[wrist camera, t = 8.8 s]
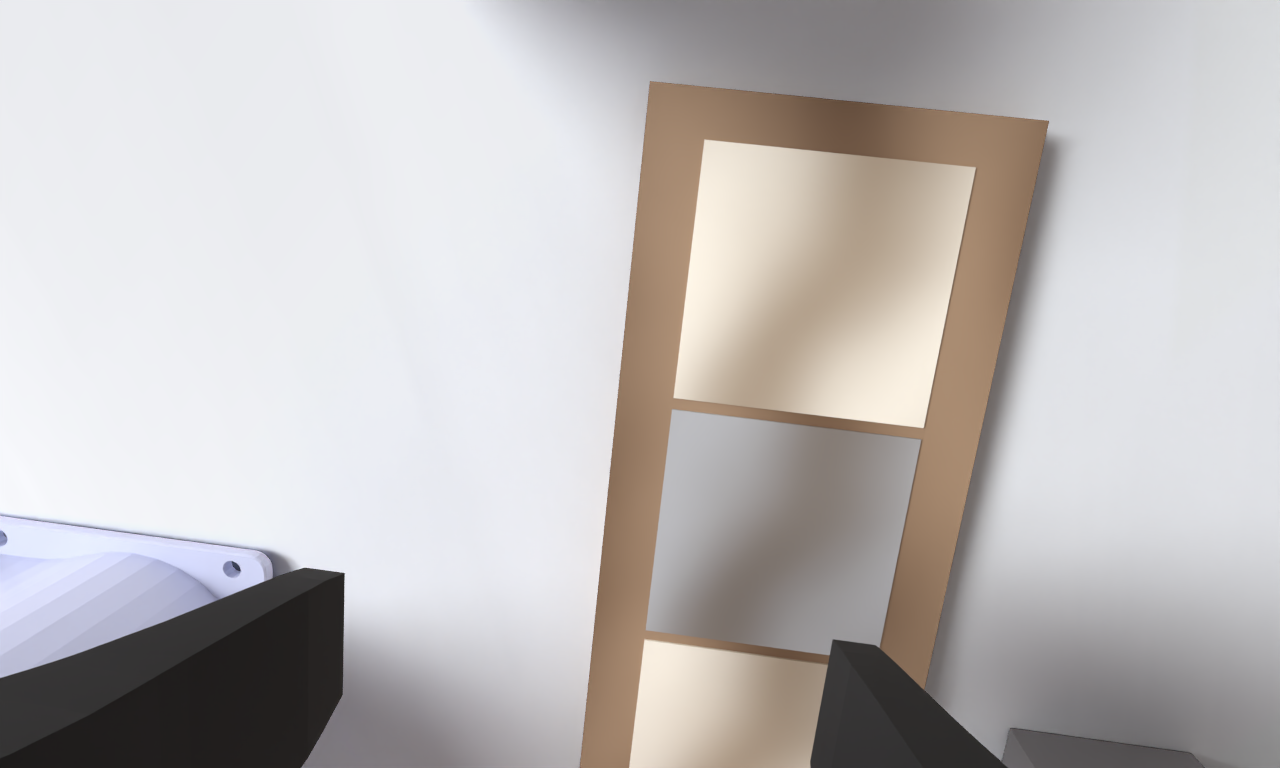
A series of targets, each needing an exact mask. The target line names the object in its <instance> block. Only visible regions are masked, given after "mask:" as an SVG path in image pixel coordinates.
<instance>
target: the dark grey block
mask: <svg viewBox="0 0 1280 768" xmlns="http://www.w3.org/2000/svg"><path fill="white" fill-rule="evenodd" d="M1002 763H1003V764H1004V765H1006V766H1007V767H1008V768H1205V767H1204V766H1203V765H1202V764H1201V763H1200V762H1199V761H1198V760H1197V759H1196V758H1195V757H1194V756H1193V755H1192V754H1191V753H1185V752H1178V751H1171V750H1164V749H1157V748H1149V747H1142V746H1135V745H1128V744H1121V743H1114V742H1106V741H1099V740H1092V739H1085V738H1078V737H1071V736H1063V735H1056V734H1049V733H1042V732H1035V731H1028V730H1020V729H1013V728H1010V731H1009V735H1008V739H1007V743H1006V746H1005V750H1004V754H1003V758H1002Z"/></svg>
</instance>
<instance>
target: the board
mask: <svg viewBox="0 0 1280 768" xmlns="http://www.w3.org/2000/svg"><path fill="white" fill-rule="evenodd" d="M1048 124H1049V121H1044V120H1034V119H1024V118H1014V117H1004V116H994V115H984V114H974V113H964V112H953V111H943V110H933V109H923V108H913V107H903V106H893V105H883V104H873V103H863V102H853V101H843V100H833V99H823V98H813V97H803V96H792V95H782V94H772V93H762V92H752V91H742V90H732V89H722V88H712V87H702V86H692V85H682V84H672V83H662V82H652V81H650V86H649V96H648V106H647V115H646V125H645V135H644V145H643V155H642V164H641V174H640V184H639V194H638V204H637V213H636V223H635V233H634V243H633V252H632V262H631V272H630V282H629V292H628V301H627V311H626V321H625V331H624V340H623V350H622V360H621V370H620V380H619V389H618V399H617V409H616V419H615V429H614V438H613V448H612V458H611V468H610V477H609V487H608V497H607V507H606V517H605V526H604V536H603V546H602V556H601V565H600V575H599V585H598V595H597V605H596V614H595V624H594V634H593V644H592V654H591V663H590V673H589V683H588V693H587V702H586V712H585V722H584V732H583V742H582V751H581V761H580V768H811V766H810V759H811V754H812V748H813V743H814V738H815V732H816V727H817V721H818V716H819V710H820V705H821V700H822V694H823V689H824V683H825V678H826V672H827V667H828V662H829V656H830V651H831V645H832V640H833V639H835V640H842V641H850V642H857V643H865V644H872V645H876V646H877V647H879V648H880V649H881V650H882V651H883V652H885V653H886V654H887V655H888V656H889V657H890V658H891V659H892V660H893V661H894V662H895V663H896V664H898V665H899V666H900V667H901V668H902V669H903V670H904V671H905V672H906V673H907V674H908V675H909V676H910V677H911V678H912V679H913V680H914V681H915V682H916V683H917V684H918V685H919V686H920V687H921V688H922V689H923V690H924V689H925V685H926V680H927V675H928V671H929V666H930V662H931V657H932V653H933V648H934V644H935V639H936V634H937V630H938V625H939V621H940V616H941V612H942V607H943V602H944V598H945V593H946V589H947V584H948V580H949V575H950V571H951V566H952V561H953V557H954V552H955V548H956V543H957V539H958V534H959V529H960V525H961V520H962V516H963V511H964V507H965V502H966V498H967V493H968V488H969V484H970V479H971V475H972V470H973V466H974V461H975V457H976V452H977V447H978V443H979V438H980V434H981V429H982V425H983V420H984V415H985V411H986V406H987V402H988V397H989V393H990V388H991V384H992V379H993V374H994V370H995V365H996V361H997V356H998V352H999V347H1000V343H1001V338H1002V333H1003V329H1004V324H1005V320H1006V315H1007V311H1008V306H1009V301H1010V297H1011V292H1012V288H1013V283H1014V279H1015V274H1016V270H1017V265H1018V260H1019V256H1020V251H1021V247H1022V242H1023V238H1024V233H1025V229H1026V224H1027V219H1028V215H1029V210H1030V206H1031V201H1032V197H1033V192H1034V187H1035V183H1036V178H1037V174H1038V169H1039V165H1040V160H1041V156H1042V151H1043V146H1044V142H1045V137H1046V133H1047V128H1048Z"/></svg>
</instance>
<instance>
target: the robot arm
mask: <svg viewBox="0 0 1280 768" xmlns="http://www.w3.org/2000/svg"><path fill="white" fill-rule="evenodd" d="M3 532H4V533H5V534H6V536H7V538H6V537H5V536H4V533H3ZM232 561H233V562H236V563H237V564H238V565H239V566H240V569H241V572H240V571H237V570H236V569H235V568H234V567H233V566H232ZM344 575H345V573H340V572H332V571H325V570H318V569H310V568H302V569H299V570H295V571H292V572H289V573H286V574H283V575H280V576H277V577H275V578H273V568H272V563H271V561H270V559H269V558H268V556H266V555H265V554H264V553H262V552H259V551H256V550H249V549H242V548H235V547H227V546H220V545H212V544H205V543H197V542H190V541H183V540H175V539H168V538H160V537H153V536H145V535H138V534H131V533H123V532H116V531H108V530H101V529H93V528H86V527H79V526H71V525H64V524H56V523H49V522H41V521H34V520H27V519H19V518H12V517H4V516H0V768H301V767H302V765H303V764H304V762H305V761H306V760H307V758H308V756H309V755H310V753H311V751H312V749H313V748H314V746H315V744H316V742H317V741H318V739H319V737H320V735H321V734H322V732H323V730H324V728H325V727H326V725H327V723H328V721H329V719H330V717H331V715H332V713H333V711H334V710H335V708H336V706H337V704H338V702H339V700H340V698H341V696H342V693H343V634H344ZM810 766H811V768H1008V767H1007V766H1006V765H1004V764H1003V763H1002V762H1001V761H1000V760H999V759H998V758H996V757H995V756H994V755H993V754H992V753H991V752H990V751H989V750H987V749H986V748H985V747H984V746H983V745H982V744H981V743H980V742H978V741H977V740H976V739H975V738H974V737H973V736H972V735H971V734H970V733H969V732H968V731H966V730H965V729H964V728H963V727H962V726H961V725H960V724H959V723H958V722H957V721H956V720H955V719H954V718H953V717H952V716H950V715H949V714H948V713H947V712H946V711H945V710H944V709H943V708H942V707H941V706H940V705H939V704H938V703H937V702H936V701H935V700H934V699H933V698H932V697H931V696H930V695H929V694H928V693H927V692H925V691H924V690H923V689H922V688H921V687H920V686H919V685H918V684H917V683H916V682H915V681H914V680H913V679H912V678H911V677H910V676H909V675H908V674H907V673H906V672H905V671H904V670H903V669H902V668H901V667H900V666H899V665H898V664H896V663H895V662H894V661H893V660H892V659H891V658H890V657H889V656H888V655H887V654H886V653H885V652H883V651H882V650H881V649H880V648H879V647H877V646H876V645H872V644H865V643H857V642H850V641H842V640H835V639H833V640H832V645H831V651H830V656H829V662H828V667H827V672H826V678H825V683H824V689H823V694H822V700H821V705H820V710H819V716H818V721H817V727H816V732H815V738H814V743H813V748H812V754H811V759H810Z"/></svg>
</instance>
